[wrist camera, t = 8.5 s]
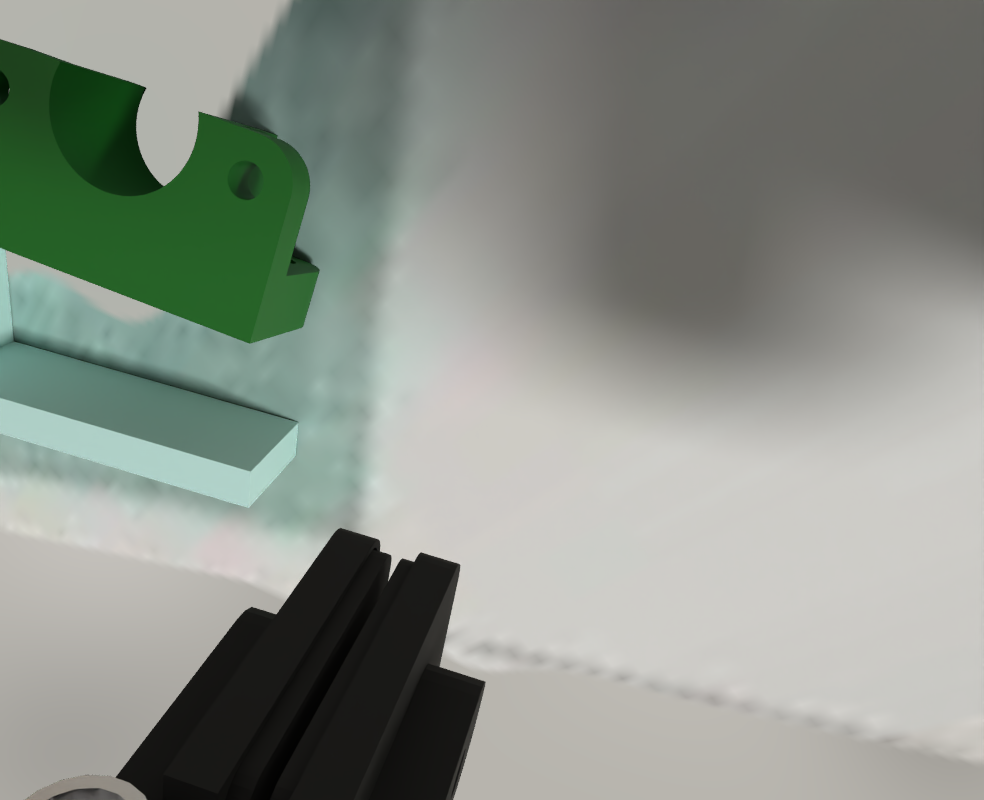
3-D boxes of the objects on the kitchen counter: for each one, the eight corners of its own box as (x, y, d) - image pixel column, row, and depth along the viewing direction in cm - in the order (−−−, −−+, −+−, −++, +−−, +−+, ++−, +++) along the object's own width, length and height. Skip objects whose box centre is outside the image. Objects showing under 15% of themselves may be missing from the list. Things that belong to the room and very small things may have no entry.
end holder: (344, -92, 25) (285, -109, 21) (295, 456, 34) (248, 508, 30) (-77, -179, 26) (-197, -209, 23) (-17, 365, 35) (-96, 404, 32)
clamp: (342, 155, 32) (363, 170, 24) (300, 297, 34) (306, 358, 26) (7, 37, 29) (-105, 7, 20) (-24, 203, 30) (-141, 239, 22)
